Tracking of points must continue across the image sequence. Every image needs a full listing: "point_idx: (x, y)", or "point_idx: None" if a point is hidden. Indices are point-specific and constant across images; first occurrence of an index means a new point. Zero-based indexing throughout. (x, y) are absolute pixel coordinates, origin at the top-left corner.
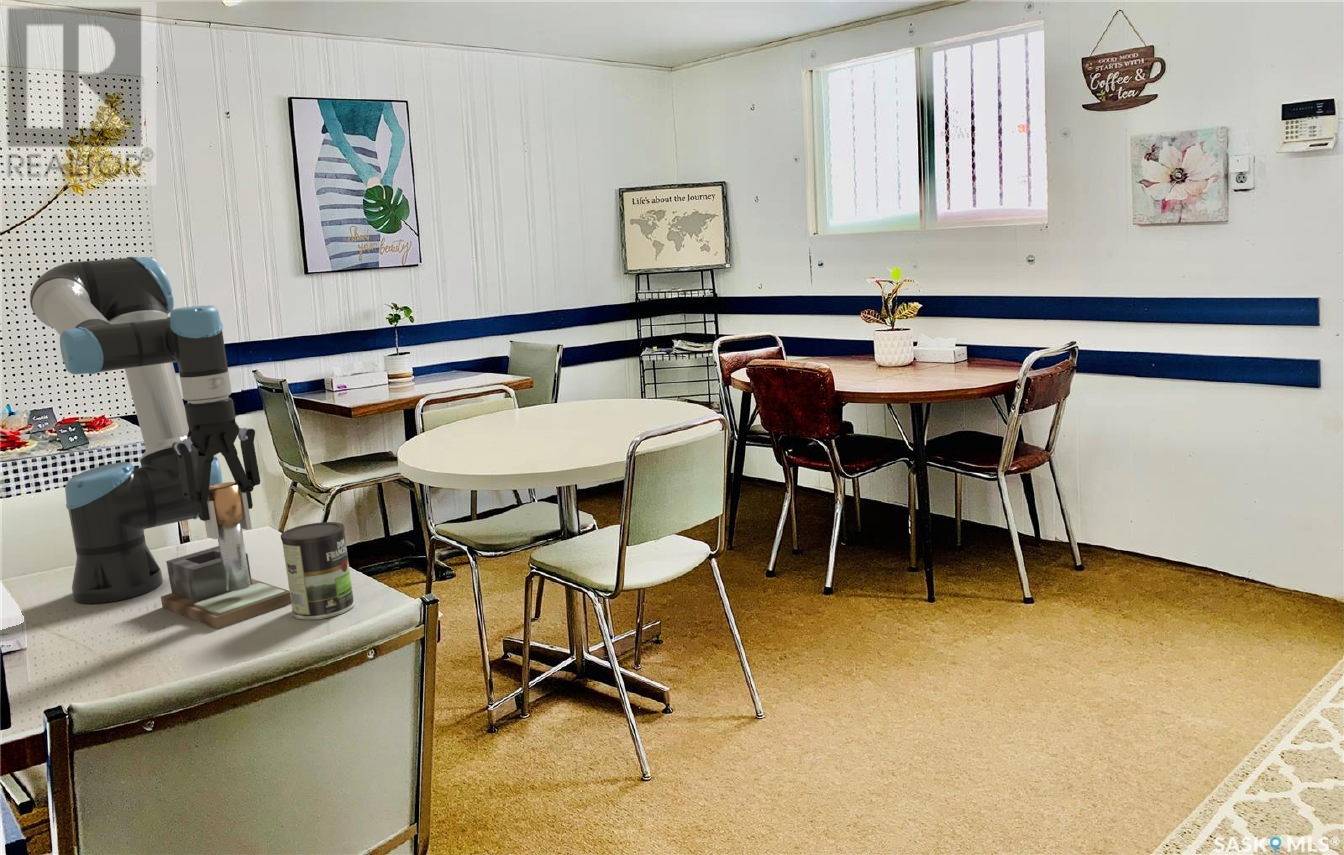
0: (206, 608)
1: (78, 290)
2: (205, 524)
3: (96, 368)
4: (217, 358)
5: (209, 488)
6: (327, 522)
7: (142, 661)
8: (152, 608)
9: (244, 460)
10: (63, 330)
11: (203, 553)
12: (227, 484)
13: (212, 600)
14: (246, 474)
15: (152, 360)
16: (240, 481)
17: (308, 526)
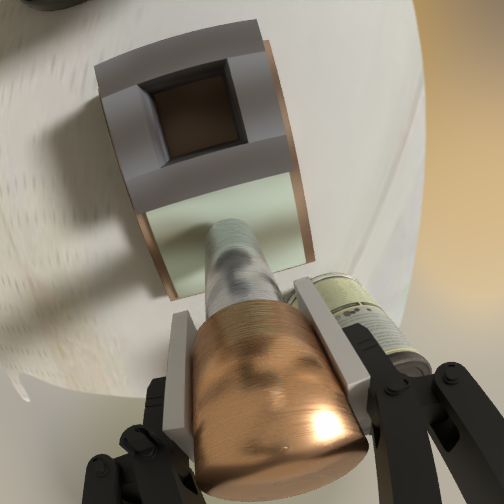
0: (161, 253)
1: None
2: (170, 346)
3: None
4: None
5: (215, 484)
6: (428, 366)
7: (79, 334)
8: (90, 85)
9: (488, 480)
10: None
11: (194, 61)
12: (319, 463)
13: (177, 214)
14: (453, 417)
15: None
16: (376, 459)
17: (400, 369)
